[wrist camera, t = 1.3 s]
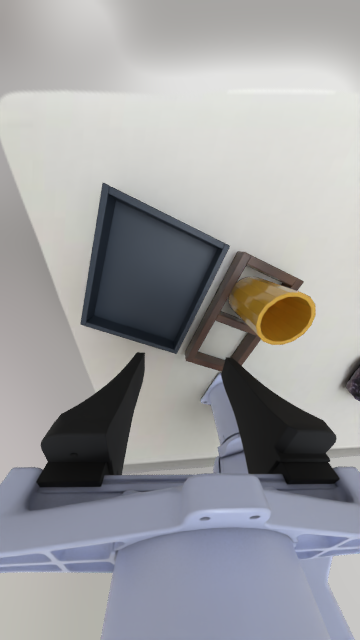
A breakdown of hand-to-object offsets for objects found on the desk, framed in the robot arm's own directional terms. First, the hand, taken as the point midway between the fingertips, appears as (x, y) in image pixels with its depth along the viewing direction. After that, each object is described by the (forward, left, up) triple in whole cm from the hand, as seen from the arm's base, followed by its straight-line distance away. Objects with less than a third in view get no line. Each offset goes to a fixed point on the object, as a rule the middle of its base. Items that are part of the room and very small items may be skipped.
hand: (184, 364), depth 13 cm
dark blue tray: (+5, -3, -10) cm, 12 cm away
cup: (-8, -7, -10) cm, 14 cm away
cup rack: (-8, -3, -10) cm, 13 cm away
